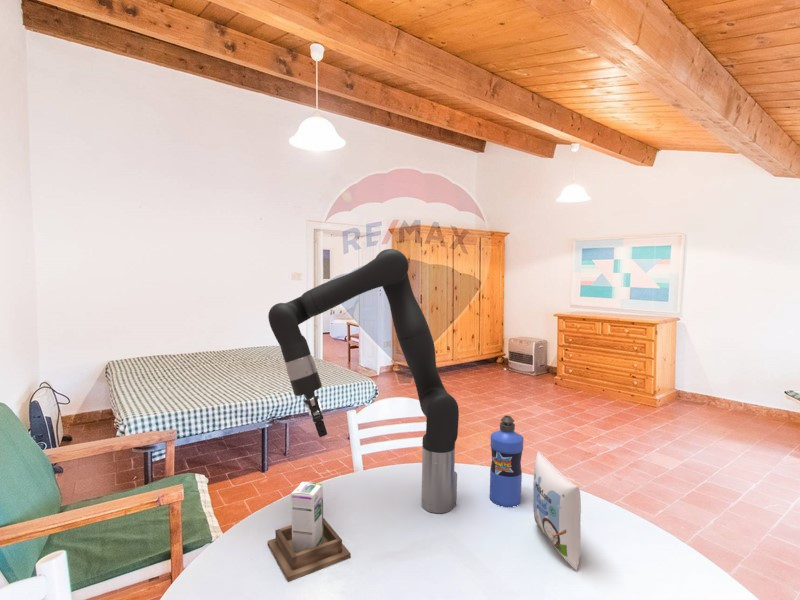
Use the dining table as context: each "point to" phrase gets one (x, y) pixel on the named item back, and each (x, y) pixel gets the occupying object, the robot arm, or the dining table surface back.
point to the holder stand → (307, 552)
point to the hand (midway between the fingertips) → (322, 432)
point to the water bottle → (506, 465)
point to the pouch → (557, 509)
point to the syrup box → (307, 516)
